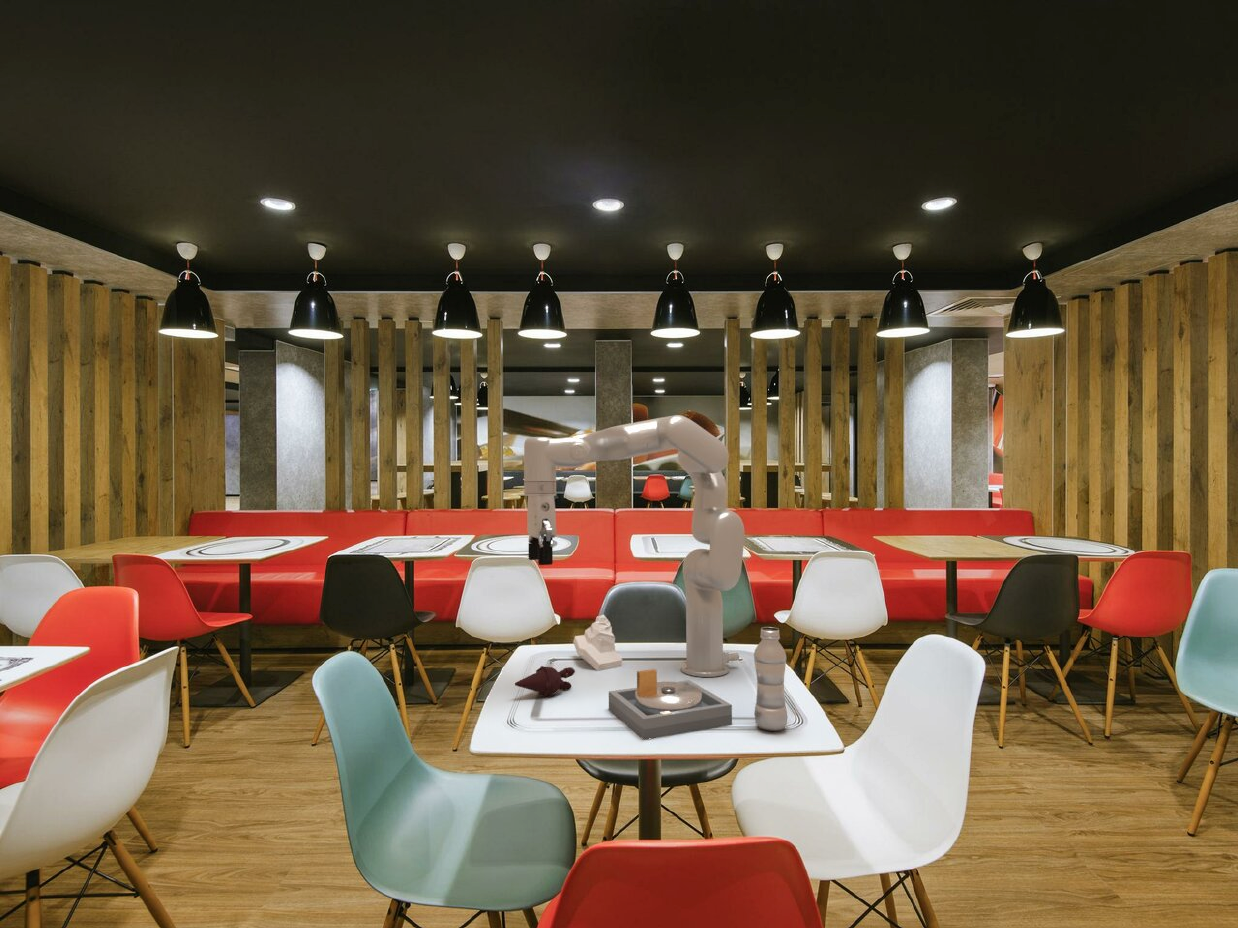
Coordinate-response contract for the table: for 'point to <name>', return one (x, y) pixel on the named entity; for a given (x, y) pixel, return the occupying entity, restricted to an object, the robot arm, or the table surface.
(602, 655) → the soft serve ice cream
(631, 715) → the tray
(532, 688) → the icecream
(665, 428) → the robot arm
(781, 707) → the plastic bottle
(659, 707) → the dial
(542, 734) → the table surface
